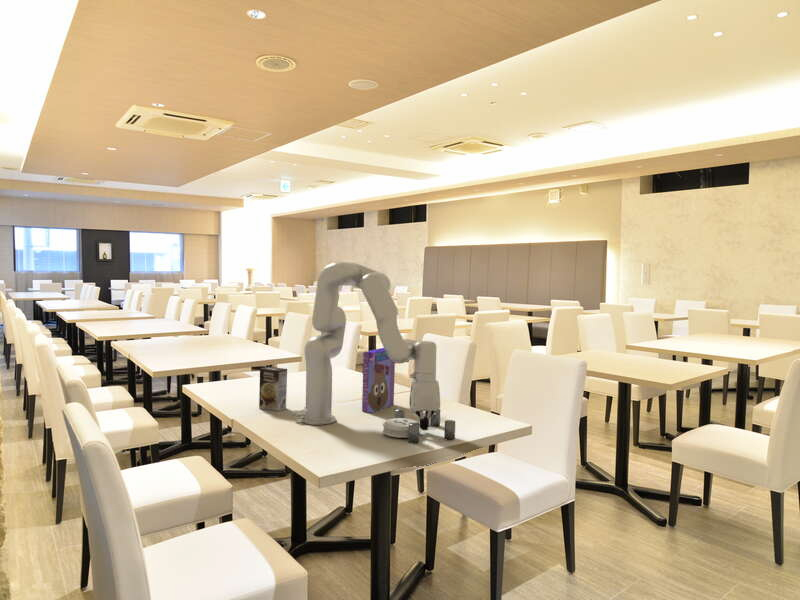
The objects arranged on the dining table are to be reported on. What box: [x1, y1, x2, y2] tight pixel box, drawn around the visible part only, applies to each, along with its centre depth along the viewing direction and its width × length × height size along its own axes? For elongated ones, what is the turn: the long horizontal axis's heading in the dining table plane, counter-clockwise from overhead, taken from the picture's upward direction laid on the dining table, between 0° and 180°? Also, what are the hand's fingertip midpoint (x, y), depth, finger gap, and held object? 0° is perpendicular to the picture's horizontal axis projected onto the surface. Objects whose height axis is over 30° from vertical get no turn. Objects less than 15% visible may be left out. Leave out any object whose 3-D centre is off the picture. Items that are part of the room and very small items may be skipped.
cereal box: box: [361, 347, 396, 414], centre depth 225 cm, size 17×5×24 cm, turn 152°
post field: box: [394, 408, 456, 444], centre depth 192 cm, size 17×23×6 cm
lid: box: [382, 417, 418, 438], centre depth 190 cm, size 13×13×5 cm
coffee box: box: [258, 366, 288, 412], centre depth 220 cm, size 9×6×16 cm
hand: (424, 429), depth 192 cm, fingers closed
